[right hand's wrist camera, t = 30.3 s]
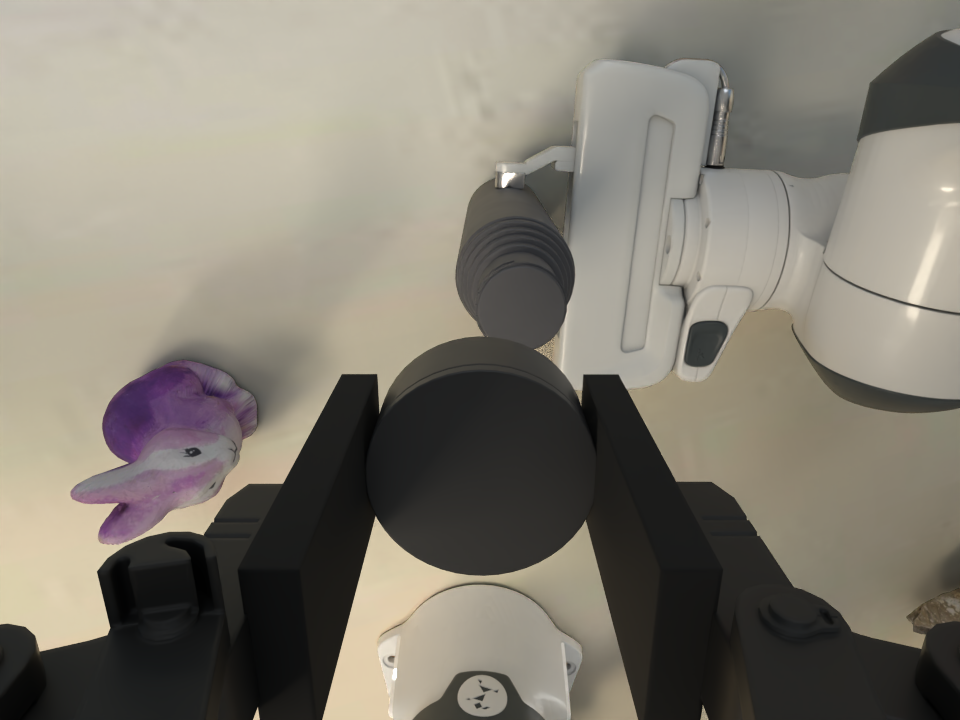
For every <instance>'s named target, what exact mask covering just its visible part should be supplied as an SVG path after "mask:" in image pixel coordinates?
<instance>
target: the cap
mask: <svg viewBox="0 0 960 720" xmlns="http://www.w3.org/2000/svg"><path fill="white" fill-rule="evenodd" d="M596 458H597V452H596V448H595V445H594V442H593V439H592V436H591V433H590V430H589V427H588V425H587V422H586V419H585V416H584V413H583V410H582V407H581V404H580V402H579V399H578V396H577V394H576V392H575V390H574V388H573V386H572V384H571V383H570V382H569V380H568V379H567V377H566V376H565V374H564V373H563V372H562V371H561V370H560V369H559V368H558V367H557V366H556V365H555V364H554V363H553V362H551V361H550V360H549V359H548V358H547V357H545V356H544V355H542V354H541V353H539V352H537V351H536V350H534V349H532V348H530V347H527V346H525V345H523V344H521V343H517V342H514V341H511V340H507V339H501V338H495V337H468V338H462V339H457V340H452V341H449V342H446V343H443V344H440V345H438V346H436V347H434V348H432V349H430V350H428V351H426V352H424V353H423V354H421V355H420V356H418V357H417V358H415V359H414V360H413V361H412V362H411V363H410V364H409V365H407V366H406V367H405V368H404V369H403V371H402V372H401V373H400V374H399V375H398V376H397V378H396V379H395V381H394V382H393V384H392V385H391V387H390V388H389V391H388V393H387V395H386V397H385V399H384V402H383V405H382V408H381V411H380V414H379V417H378V420H377V423H376V426H375V429H374V432H373V435H372V438H371V441H370V444H369V448H368V451H367V455H366V463H365V480H366V489H367V494H368V497H369V500H370V504H371V507H372V509H373V511H374V513H375V515H376V517H377V519H378V521H379V522H380V524H381V525H382V527H383V528H384V530H385V531H386V532H387V533H388V534H389V535H390V537H391V538H392V539H393V540H394V541H395V542H396V543H397V544H398V545H400V546H401V547H402V548H403V549H404V550H405V551H407V552H408V553H410V554H411V555H413V556H414V557H416V558H417V559H419V560H421V561H423V562H425V563H427V564H429V565H432V566H434V567H437V568H439V569H442V570H446V571H450V572H454V573H459V574H466V575H482V576H485V575H499V574H504V573H510V572H514V571H517V570H521V569H524V568H527V567H529V566H532V565H534V564H536V563H539V562H541V561H542V560H544V559H546V558H548V557H549V556H551V555H553V554H554V553H555V552H557V551H558V550H559V549H561V548H562V547H563V546H564V545H565V544H566V543H567V542H568V541H569V540H571V539H572V538H573V536H574V535H575V534H576V533H577V531H578V530H579V529H580V528H581V526H582V525H583V523H584V521H585V520H586V518H587V516H588V515H589V512H590V510H591V508H592V505H593V502H594V488H595V474H596Z"/></svg>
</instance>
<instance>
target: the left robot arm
mask: <svg viewBox="0 0 960 720" xmlns="http://www.w3.org/2000/svg"><path fill="white" fill-rule="evenodd" d="M719 77H720V80H721V84H722V88H718V82H719ZM733 103H734V89H732V88H729V81H728V77H727V74H726V72H725V71H724V69H723V68H722V67H721V66H720V65H719V64H718V63H717V62H715V61H713V60H709V59H697V58H680V59H677V60H674V61H672V62H670V63H669V64H667V65H666V66H665V67H664V68H663V67H658V66H654V65H649V64H643V63H638V62H631V61H623V60H614V59H597V60H594V61H592V62H591V63H589V64H588V65H587V66H586V67H585V68H584V69H583V70H582V71H581V72H580V73H579V74H578V76H577V82H576V93H575V105H574V116H573V128H572V139H571V146H551V147H549V148H547V149H545V150H543V151H542V152H540V153H538V154H536V155H534V156H532V157H530V158H529V159H527V160H525V162H524V163H521V162H496V171H495V187H496V188H507V187H509V186H510V187H512V188H515V189H524V184H525V175H528V174H530V173H532V172H534V171H536V170H538V169H540V168H542V167H544V166H546V165H548V164H549V163H551V162H552V166H551V167H552V168H553V169H554V170H556V171H564V172H569V174H568V185H567V197H566V208H565V220H564V231H563V239H564V240H565V242H566V243H567V245H568V247H569V249H570V251H571V254H572V257H573V260H574V265H575V283H574V288H573V293H572V296H571V298H570V301H569V303H568V305H567V313H566V317H565V320H564V323H563V324H562V326H561V328H560V330H559V331H558V333H557V334H556V335H555V336H554V346H553V358H552V362H553V363H554V364H555V365H556V366H557V367H558V368H559V369H560V370H561V371H562V372H563V373H564V374H565V376H566V377H567V379H568V380H569V382H570V383H571V384H572V386H573V388H574V390H580V391H582V387H583V374H619V376H620V378H621V380H622V382H623V384H624V386H625V387H626V389H627V390H630V389H640V388H645V387H649V386H652V385H655V384H657V383H659V382H661V381H662V380H663V379H665V378H666V377H667V376H668V374H669V373H670V372H671V371H672V372H673V373H674V374H675V375H676V376H678V377H679V378H680V379H682V380H684V381H689V382H701V381H704V380H706V379H707V378H708V377H709V376H710V374H711V373H712V371H713V370H714V368H715V366H716V364H717V362H718V360H719V358H720V356H721V354H722V352H723V350H724V349H725V347H726V345H727V343H728V341H729V339H730V338H731V336H732V334H733V332H734V330H735V329H736V327H737V325H738V324H739V322H740V320H741V319H742V317H743V316H744V314H745V313H746V311H748V312H754V311H760V310H766V309H780V310H783V311H785V312H787V313H789V314H790V315H791V317H792V319H793V324H792V331H793V333H794V335H795V337H796V339H797V341H798V343H799V345H800V346H801V348H802V350H803V351H804V353H805V355H806V356H807V358H808V360H809V361H810V363H811V364H812V366H813V367H814V369H815V370H816V372H817V373H818V375H819V376H820V378H821V379H822V380H823V382H824V383H825V384H826V385H827V386H828V387H829V388H830V389H831V390H832V391H833V392H834V393H835V394H837V395H838V396H840V397H841V398H843V399H845V400H847V401H850V402H852V403H855V404H858V405H861V406H865V407H869V408H873V409H878V410H884V411H890V412H900V413H928V412H938V411H947V410H952V409H957V408H960V28H957V29H953V30H944V31H939V32H937V33H935V34H933V35H932V36H930V37H929V38H927V39H925V40H924V41H922V42H921V43H919V44H918V45H916V46H915V47H914V48H912V49H911V50H909V51H908V52H907V53H905V54H904V55H903V56H901V57H900V58H899V59H898V60H896V61H895V62H894V63H893V64H891V65H890V66H889V67H888V68H887V69H885V70H884V71H883V72H882V73H881V74H880V75H879V76H877V77H876V78H875V79H874V80H873V81H872V82H871V83H870V85H869V90H868V94H867V98H866V103H865V107H864V111H863V116H862V120H861V125H860V129H859V133H858V138H857V141H858V142H859V144H858V147H857V150H856V154H855V157H854V160H853V163H852V167H851V170H850V173H849V174H845V173H837V174H830V175H825V176H822V177H817V178H798V177H794V176H791V175H789V174H786V173H783V172H780V171H774V170H757V169H735V168H725V167H723V164H724V159H725V152H726V146H727V137H728V136H727V134H728V131H727V130H728V123H729V121H728V120H729V116H730V112H732V108H733ZM701 165H703V166H705V167H701ZM706 165H707V166H706ZM377 653H378V657H379V660H380V664H381V668H382V672H383V676H384V680H385V684H386V687H387V691H388V695H389V710H388V712H389V716H390V717H391V718H393V720H571V710H570V699H569V693H570V691H571V688H572V686H573V683H574V680H575V678H576V675H577V673H578V670H579V667H580V665H581V662H582V647H581V645H580V644H579V643H578V642H577V641H576V640H574V639H573V638H571V637H569V636H568V635H566V634H564V633H563V632H561V631H559V630H558V629H557V627H556V626H555V625H554V624H553V622H552V621H551V619H550V618H549V616H548V615H547V614H546V613H545V611H544V610H543V609H542V608H541V607H540V606H539V605H537V604H536V603H535V602H534V601H532V600H531V599H529V598H528V597H526V596H524V595H522V594H520V593H518V592H516V591H513V590H510V589H507V588H503V587H499V586H493V585H466V586H460V587H456V588H452V589H449V590H446V591H443V592H441V593H439V594H437V595H435V596H433V597H432V598H430V599H428V600H427V601H426V602H424V603H423V604H422V605H421V606H420V607H419V608H418V609H417V610H416V611H415V612H414V613H413V614H412V615H411V617H410V618H409V619H408V620H407V621H406V622H405V623H403V624H402V625H400V626H398V627H396V628H393V629H391V630H389V631H388V632H386V633H384V634H383V635H382V636H380V638H379V639H378V646H377ZM391 656H395V657H391ZM566 663H568V664H566Z"/></svg>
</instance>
